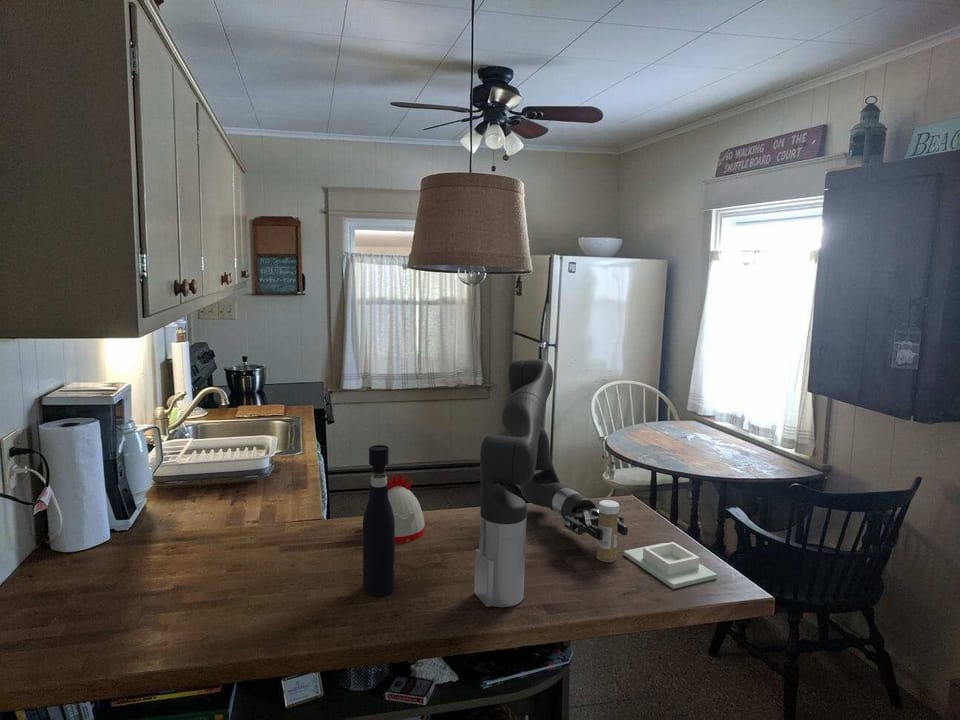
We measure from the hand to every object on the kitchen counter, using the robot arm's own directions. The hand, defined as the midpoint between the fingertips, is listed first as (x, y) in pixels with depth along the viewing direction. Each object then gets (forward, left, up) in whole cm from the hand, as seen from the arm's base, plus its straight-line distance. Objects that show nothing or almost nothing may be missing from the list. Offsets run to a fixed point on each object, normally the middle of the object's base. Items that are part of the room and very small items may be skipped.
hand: (613, 533), depth 148 cm
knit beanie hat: (-40, +34, -7) cm, 53 cm away
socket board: (+11, -7, -7) cm, 15 cm away
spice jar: (0, +2, -7) cm, 8 cm away
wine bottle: (-52, +8, -7) cm, 53 cm away
